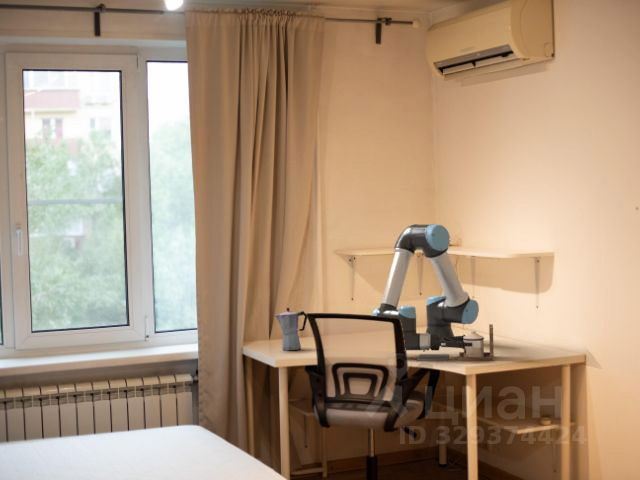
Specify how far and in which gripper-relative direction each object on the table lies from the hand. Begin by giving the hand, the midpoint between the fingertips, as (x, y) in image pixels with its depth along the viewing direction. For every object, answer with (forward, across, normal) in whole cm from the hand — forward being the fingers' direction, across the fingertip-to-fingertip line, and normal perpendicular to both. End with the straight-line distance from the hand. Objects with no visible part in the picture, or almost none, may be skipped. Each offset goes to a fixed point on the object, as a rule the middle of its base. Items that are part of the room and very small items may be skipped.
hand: (480, 341), depth 371 cm
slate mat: (-21, 0, -7) cm, 22 cm away
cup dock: (-2, 0, -7) cm, 7 cm away
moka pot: (-89, -22, -8) cm, 92 cm away
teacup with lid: (-3, 0, -7) cm, 8 cm away
